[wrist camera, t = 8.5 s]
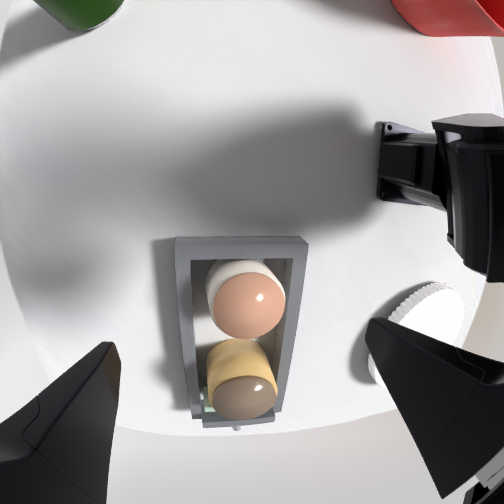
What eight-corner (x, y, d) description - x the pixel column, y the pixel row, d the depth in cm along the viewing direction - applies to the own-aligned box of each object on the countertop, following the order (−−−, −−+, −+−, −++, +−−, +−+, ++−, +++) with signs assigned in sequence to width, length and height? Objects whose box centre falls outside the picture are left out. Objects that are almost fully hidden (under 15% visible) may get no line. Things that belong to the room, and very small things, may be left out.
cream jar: (241, 238, 20) (254, 255, 16) (282, 282, 22) (302, 306, 18) (191, 284, 20) (193, 310, 17) (235, 323, 22) (246, 353, 18)
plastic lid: (346, 383, 29) (355, 398, 26) (391, 276, 24) (406, 287, 22) (423, 367, 32) (433, 378, 29) (464, 280, 27) (478, 288, 25)
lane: (299, 236, 21) (315, 250, 18) (276, 399, 27) (283, 420, 24) (176, 237, 19) (172, 251, 16) (191, 405, 25) (192, 428, 22)
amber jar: (263, 379, 25) (275, 417, 21) (207, 382, 24) (210, 423, 20) (268, 336, 23) (283, 375, 19) (204, 338, 22) (207, 380, 18)
